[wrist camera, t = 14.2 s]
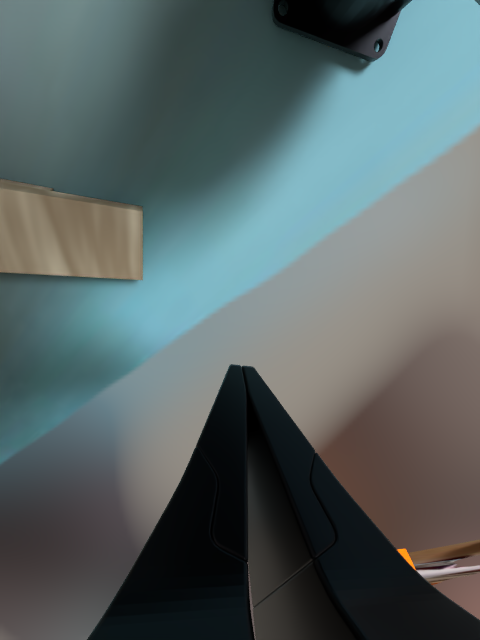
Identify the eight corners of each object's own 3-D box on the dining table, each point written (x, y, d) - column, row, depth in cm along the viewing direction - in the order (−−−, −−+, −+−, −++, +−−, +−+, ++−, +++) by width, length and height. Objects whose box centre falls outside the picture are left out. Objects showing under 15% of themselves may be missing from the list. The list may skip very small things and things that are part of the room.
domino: (142, 211, 15) (-78, 175, 12) (142, 280, 18) (-37, 270, 14) (142, 206, 17) (-57, 172, 13) (142, 271, 19) (-23, 260, 15)
